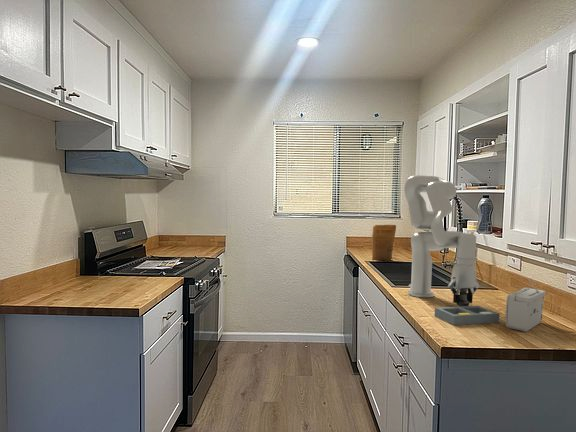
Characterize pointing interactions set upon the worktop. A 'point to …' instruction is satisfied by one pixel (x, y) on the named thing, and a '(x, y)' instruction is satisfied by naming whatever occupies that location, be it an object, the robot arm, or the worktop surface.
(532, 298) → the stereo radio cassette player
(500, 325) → the worktop surface
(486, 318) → the socket board
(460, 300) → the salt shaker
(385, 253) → the pancake mix bag
